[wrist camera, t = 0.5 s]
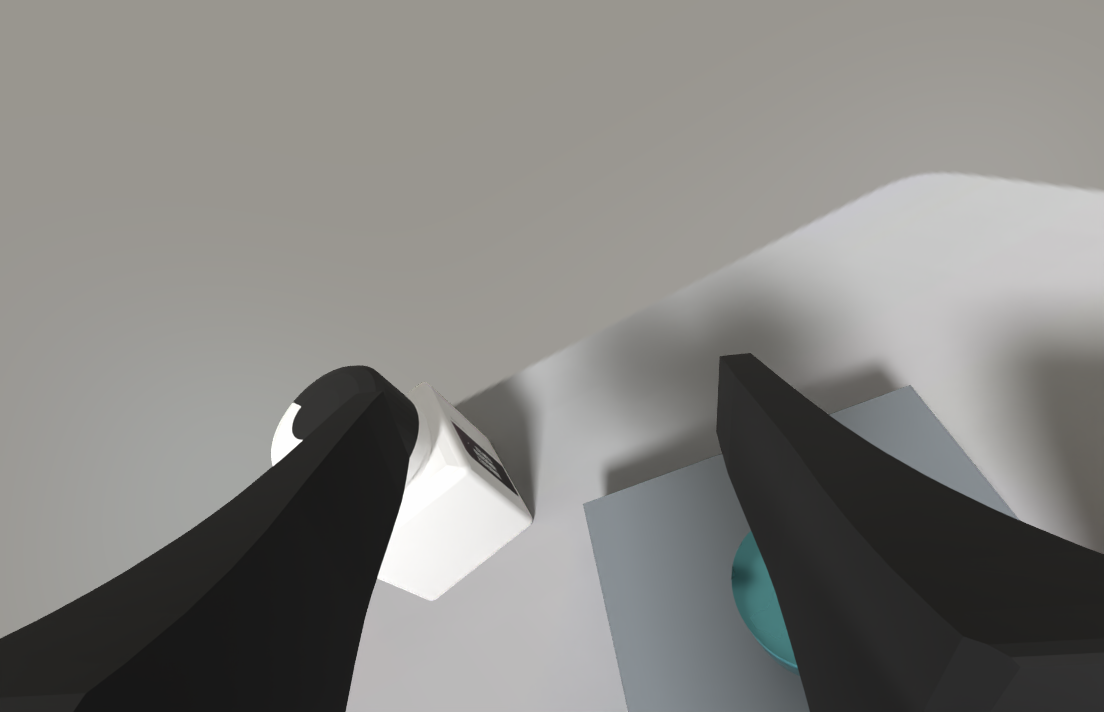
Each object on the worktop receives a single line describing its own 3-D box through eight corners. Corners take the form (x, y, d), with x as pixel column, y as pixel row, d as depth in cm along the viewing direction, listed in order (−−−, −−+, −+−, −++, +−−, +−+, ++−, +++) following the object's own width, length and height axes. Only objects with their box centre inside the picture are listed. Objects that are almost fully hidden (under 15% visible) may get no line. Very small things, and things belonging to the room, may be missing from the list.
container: (488, 437, 37) (365, 321, 28) (537, 523, 31) (403, 414, 22) (399, 507, 37) (244, 413, 27) (432, 605, 31) (253, 529, 22)
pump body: (1241, 869, 15) (1315, 886, 13) (709, 956, 19) (687, 982, 16) (905, 423, 26) (910, 384, 24) (606, 527, 29) (583, 504, 27)
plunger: (916, 679, 18) (935, 645, 14) (789, 712, 19) (768, 689, 15) (847, 554, 21) (845, 492, 17) (740, 587, 22) (710, 537, 18)
